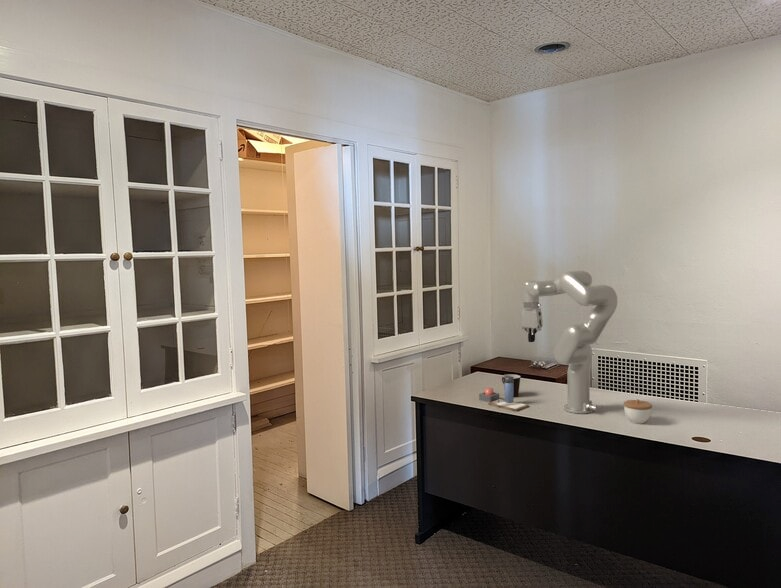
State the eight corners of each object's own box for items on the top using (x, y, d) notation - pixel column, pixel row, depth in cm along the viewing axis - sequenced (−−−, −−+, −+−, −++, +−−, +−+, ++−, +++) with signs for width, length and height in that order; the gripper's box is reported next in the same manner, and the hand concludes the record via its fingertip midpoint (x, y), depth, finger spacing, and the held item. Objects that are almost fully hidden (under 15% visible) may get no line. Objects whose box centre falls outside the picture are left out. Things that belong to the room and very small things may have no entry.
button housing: (499, 399, 266) (499, 393, 266) (490, 402, 262) (490, 396, 261) (488, 396, 272) (488, 391, 271) (479, 399, 267) (479, 393, 267)
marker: (515, 401, 258) (515, 377, 257) (510, 403, 255) (510, 378, 254) (508, 400, 261) (508, 375, 260) (503, 401, 258) (503, 377, 257)
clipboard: (529, 406, 253) (528, 404, 253) (516, 411, 246) (516, 409, 246) (501, 400, 265) (501, 398, 265) (488, 404, 258) (488, 402, 258)
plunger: (495, 398, 266) (494, 389, 266) (489, 400, 264) (489, 390, 263) (488, 397, 269) (488, 387, 269) (483, 399, 267) (483, 389, 266)
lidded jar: (628, 425, 223) (628, 403, 222) (620, 417, 234) (620, 396, 233) (655, 425, 222) (655, 403, 221) (646, 417, 232) (646, 396, 231)
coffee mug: (522, 397, 268) (522, 378, 267) (505, 398, 268) (504, 378, 267) (517, 391, 279) (517, 372, 278) (500, 392, 279) (500, 373, 279)
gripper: (548, 305, 267) (548, 342, 268) (523, 304, 278) (523, 339, 279) (539, 307, 262) (540, 344, 263) (514, 305, 273) (514, 341, 274)
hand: (531, 341), depth 271 cm, fingers closed
